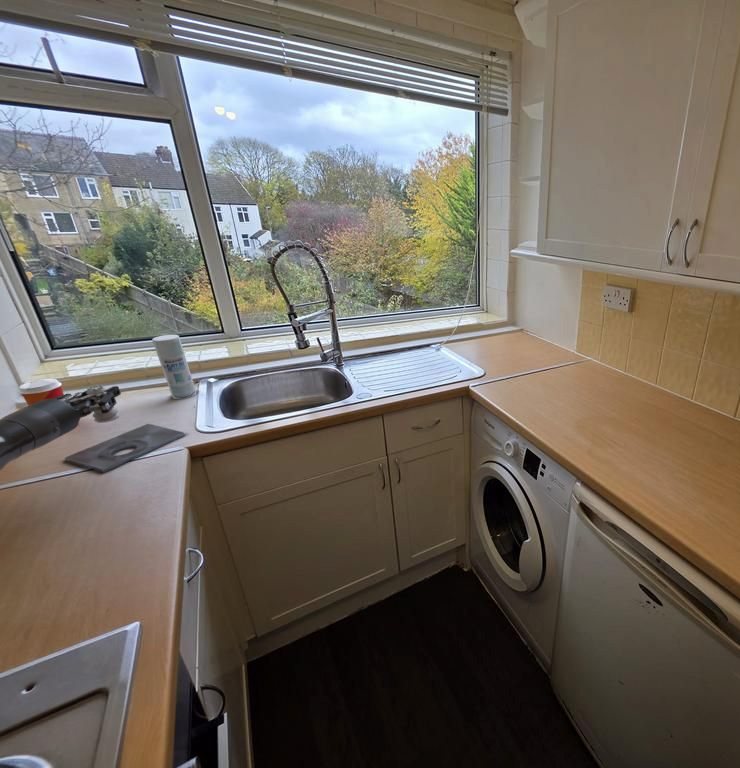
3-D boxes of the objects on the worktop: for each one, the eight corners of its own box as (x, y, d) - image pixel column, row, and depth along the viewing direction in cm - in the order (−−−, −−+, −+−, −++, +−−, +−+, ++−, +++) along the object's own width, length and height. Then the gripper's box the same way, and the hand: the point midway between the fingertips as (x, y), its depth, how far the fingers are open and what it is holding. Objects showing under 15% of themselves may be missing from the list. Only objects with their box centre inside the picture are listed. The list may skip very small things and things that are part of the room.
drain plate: (105, 474, 93) (102, 469, 93) (67, 462, 97) (64, 457, 97) (185, 437, 109) (183, 432, 108) (149, 428, 113) (147, 423, 112)
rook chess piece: (90, 421, 92) (76, 389, 89) (113, 413, 96) (101, 382, 93) (101, 424, 91) (87, 392, 88) (125, 416, 95) (113, 385, 92)
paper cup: (37, 431, 110) (13, 384, 105) (76, 420, 116) (56, 375, 111) (43, 440, 106) (19, 391, 101) (84, 428, 112) (62, 382, 106)
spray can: (195, 390, 136) (177, 333, 128) (199, 396, 132) (180, 337, 124) (171, 396, 132) (150, 337, 124) (174, 402, 128) (153, 341, 120)
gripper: (69, 406, 77) (136, 374, 93) (-15, 409, 76) (68, 375, 92) (84, 440, 80) (147, 403, 96) (4, 443, 79) (81, 405, 95)
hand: (108, 390), depth 94 cm, fingers closed on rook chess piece, 3 cm apart
